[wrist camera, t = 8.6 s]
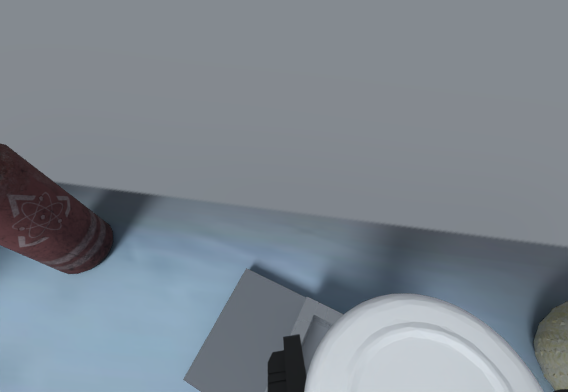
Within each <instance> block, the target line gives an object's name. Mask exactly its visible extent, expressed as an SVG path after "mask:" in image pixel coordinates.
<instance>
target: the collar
mask: <svg viewBox="0 0 568 392" xmlns="http://www.w3.org/2000/svg"><path fill="white" fill-rule="evenodd" d="M343 315H344V314H342V313H340V312H338V311H336V310H334V309H332V308H330V307H327V306H325V305H323V304H321V303H319V302H317V301H315V300H313V299H311V298H309V297H307V298H306V300H305V302H304V305H303V307H302V309H301V311H300V314H299V316H298V318H297V320H296V323H295V325H294V327H293V329H292V332H291V334H290V336H291V335H296V334H300V339H301V345H302V347H303V344H304V342H305V339H306V337H307V335H308V332H309V330H310V328H311V325H312V323H313V321H314V322H316V323H318V324H320V325H322V326H324V327H326V328H328V329H330V328H331V326H332V325H333V324H334V323H335V322H336V321H337V320H338V319H339V318H340V317H341V316H343ZM265 392H268V386H267V388H266V390H265Z"/></svg>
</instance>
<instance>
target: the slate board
mask: <svg viewBox="0 0 568 392" xmlns="http://www.w3.org/2000/svg"><path fill="white" fill-rule="evenodd" d="M305 300H306V297H304V296H302V295H300V294H298V293H296V292H294V291H292V290H290V289H288V288H286V287H284V286H282V285H279V284H277V283H275V282H273V281H271V280H269V279H267V278H265V277H263V276H261V275H259V274H257V273H255V272H253V271H251V270H249V269H247V268H246V270H245V272H244V273H243V275H242V277H241V279H240V280H239V282H238V284H237V286H236V287H235V289H234V291H233V293H232V294H231V296H230V298H229V300H228V302H227V303H226V305H225V307H224V309H223V310H222V312H221V314H220V316H219V317H218V319H217V321H216V323H215V324H214V326H213V328H212V330H211V332H210V333H209V335H208V337H207V339H206V340H205V342H204V344H203V346H202V347H201V349H200V351H199V353H198V354H197V356H196V358H195V360H194V362H193V363H192V365H191V367H190V369H189V370H188V372H187V374H186V376H185V377H184V379H183V380H184V381H186V382H187V383H189V384H190V385H192V386H193V387H195V388H196V389H198V390H199V391H201V392H265V390H266V388H267V386H268V361H269V359H270V356H271V354H272V352H276V351H282V350H284V344H283V337H285V336H290V334H291V332H292V329H293V327H294V325H295V323H296V320H297V318H298V316H299V314H300V311H301V309H302V307H303V305H304V302H305ZM328 330H329V329H328V328H326V327H324V326H322V325H320V324H318V323H316V322H314V321H313V323H312V325H311V328H310V330H309V332H308V335H307V337H306V339H305V342H304V344H303V347H302V351H303V357H304V363H305V369H306V375H307V373H308V370H309V366H310V363H311V360H312V358H313V356H314V353H315V351H316V349H317V347H318V345H319V344H320V342H321V340H322V339H323V337H324V336H325V334H326V333H327V332H328Z"/></svg>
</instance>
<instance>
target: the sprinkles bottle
mask: <svg viewBox="0 0 568 392" xmlns="http://www.w3.org/2000/svg"><path fill="white" fill-rule="evenodd" d="M304 392H543V390H542V388H541V386H540V385H539V383H538V381H537V380H536V378H535V377H534V375H533V373H532V372H531V371H530V369H529V368H528V367H527V365H526V364H525V363H524V362H523V360H522V359H521V358H520V356H519V355H518V354H517V353H516V352H515V351H514V349H513V348H512V347H511V346H510V345H509V344H508V343H507V342H506V341H505V340H504V339H503V338H502V337H501V336H500V335H499V334H498V333H496V332H495V331H494V330H493V329H492V328H490V327H489V326H488V325H487V324H485V323H484V322H482V321H481V320H480V319H478V318H477V317H475V316H474V315H472V314H470V313H468V312H467V311H465V310H463V309H461V308H459V307H457V306H455V305H453V304H451V303H448V302H446V301H443V300H440V299H437V298H433V297H429V296H424V295H418V294H409V293H407V294H388V295H383V296H378V297H375V298H372V299H370V300H367V301H364V302H362V303H360V304H359V305H357V306H355V307H354V308H352V309H351V310H349V311H348V312H346V313H345V314H344V315H343V316H341V317H340V318H339V319H338V320H337V321H336V322H335V323H334V324H333V325H332V326H331V328H330V329H329V330H328V332H327V333H326V334H325V336H324V337H323V339H322V340H321V342H320V344H319V345H318V347H317V349H316V351H315V353H314V356H313V358H312V360H311V363H310V366H309V370H308V373H307V378H306V383H305V390H304Z"/></svg>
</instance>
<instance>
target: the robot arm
mask: <svg viewBox="0 0 568 392" xmlns="http://www.w3.org/2000/svg"><path fill="white" fill-rule="evenodd" d="M283 344H284V350H282V351H276V352H272V354H271V356H270V359H269V361H268V392H304V390H305V383H306V378H307V375H306V369H305V363H304V357H303V351H302V345H301V339H300V334H296V335H291V336H285V337H283ZM554 392H568V389H560V390H556V391H554Z"/></svg>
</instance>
